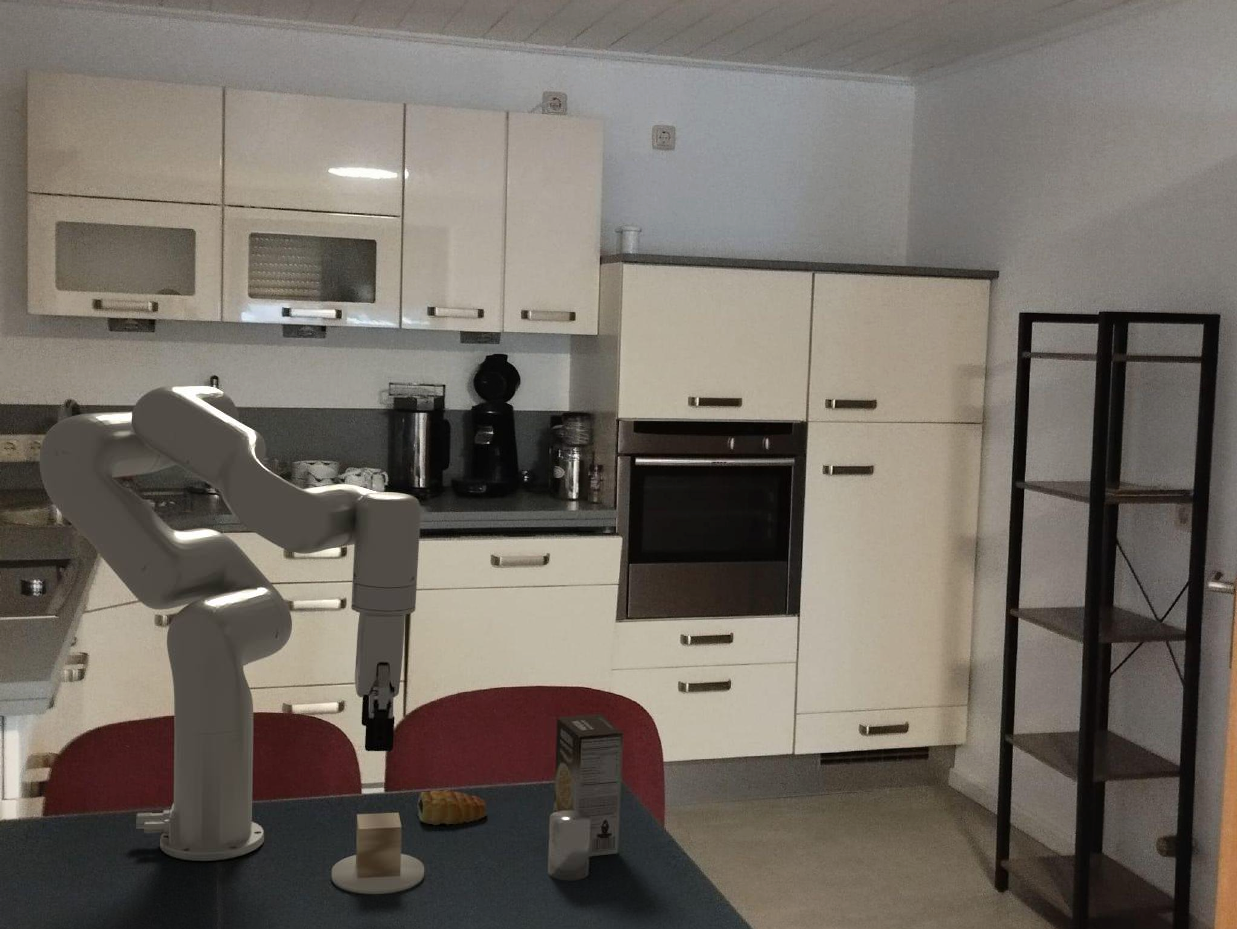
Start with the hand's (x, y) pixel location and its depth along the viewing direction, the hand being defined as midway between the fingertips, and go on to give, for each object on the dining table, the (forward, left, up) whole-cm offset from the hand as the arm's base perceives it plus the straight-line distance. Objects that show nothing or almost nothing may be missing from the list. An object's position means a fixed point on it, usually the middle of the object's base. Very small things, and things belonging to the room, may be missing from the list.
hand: (376, 737), depth 160 cm
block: (+1, 0, -16) cm, 16 cm away
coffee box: (+28, +7, -17) cm, 33 cm away
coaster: (+1, 0, -17) cm, 17 cm away
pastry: (+11, +19, -17) cm, 28 cm away
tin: (+24, -2, -17) cm, 29 cm away
